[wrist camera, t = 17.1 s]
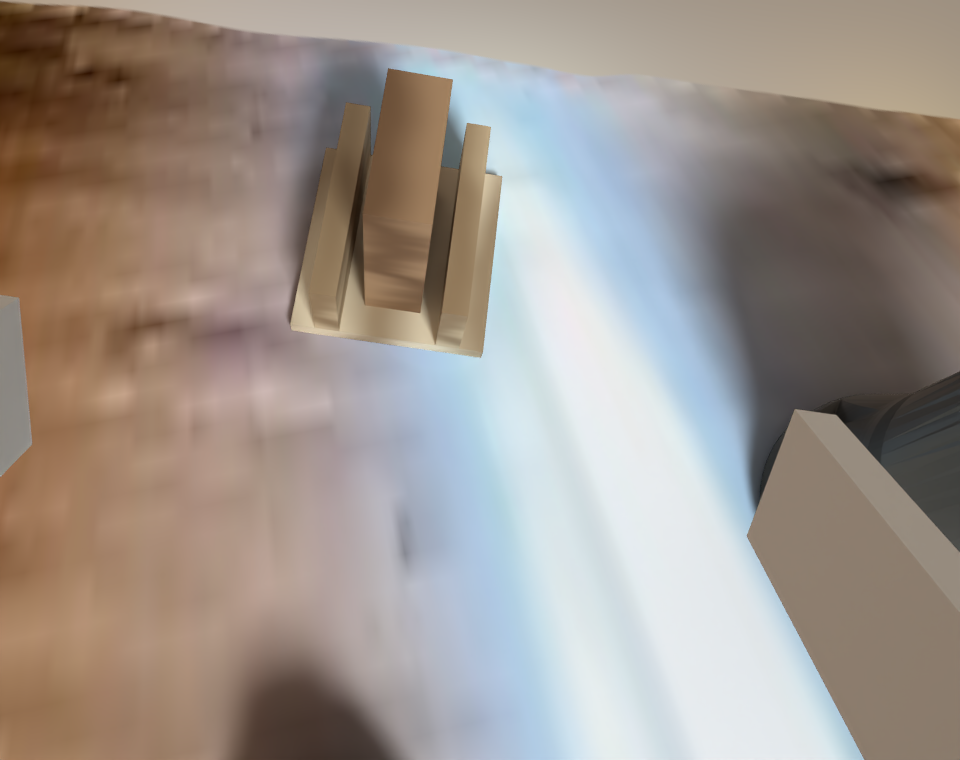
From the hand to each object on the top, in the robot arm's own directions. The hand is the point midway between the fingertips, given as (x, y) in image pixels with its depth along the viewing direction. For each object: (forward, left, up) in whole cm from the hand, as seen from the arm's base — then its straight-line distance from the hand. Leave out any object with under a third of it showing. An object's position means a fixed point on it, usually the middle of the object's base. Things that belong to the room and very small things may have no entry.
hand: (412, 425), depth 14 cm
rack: (+2, -21, -34) cm, 40 cm away
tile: (+2, -21, -33) cm, 39 cm away
